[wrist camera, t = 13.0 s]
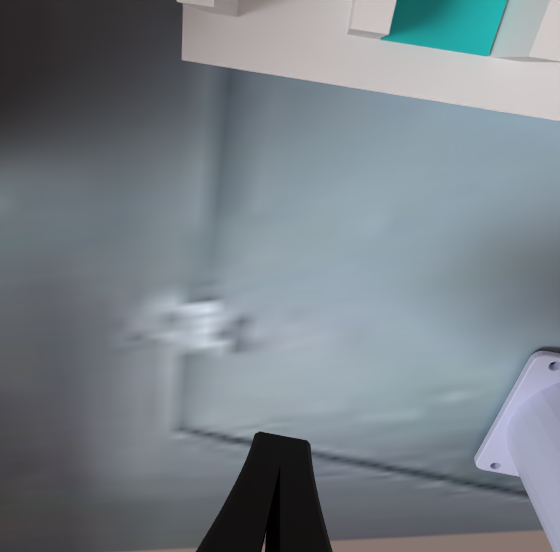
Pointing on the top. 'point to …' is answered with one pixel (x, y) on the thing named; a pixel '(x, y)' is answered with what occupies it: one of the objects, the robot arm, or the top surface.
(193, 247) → the top surface
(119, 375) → the top surface
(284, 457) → the robot arm
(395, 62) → the slot rack
